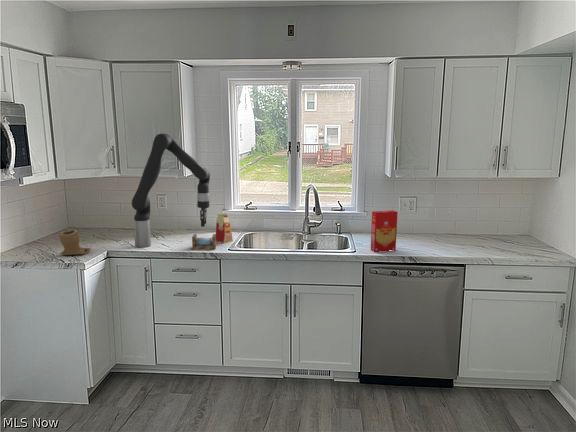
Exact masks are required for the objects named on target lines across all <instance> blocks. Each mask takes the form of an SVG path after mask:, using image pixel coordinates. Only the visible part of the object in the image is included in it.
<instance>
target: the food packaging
mask: <svg viewBox="0 0 576 432" xmlns="http://www.w3.org/2000/svg"><path fill="white" fill-rule="evenodd" d="M397 227H398V211H396V210H374V211H373V210H372V211H371V229H370V230H371V231H370V232H371V233H370V234H371V235H370V251H371V250H372V251H371V252H373V251H374V252H373V253H380V252H379V251H387V252H390V251H389V250H396V251H397V249H396V248H397V230H398V229H397Z"/></svg>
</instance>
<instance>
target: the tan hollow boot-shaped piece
mask: <svg viewBox="0 0 576 432" xmlns="http://www.w3.org/2000/svg"><path fill="white" fill-rule="evenodd" d="M59 239H60V243H61V244H62V246H63V248H64V249H63V250H62V251H61V252H60V255H63V256H76V255H77V256H78V255H79V256H80V255H86V254H88V253H89V252H90V251H91V248H90V247H80V234H79V231H78V230H76V229H69V230H64V231H62V232H61V233H59Z"/></svg>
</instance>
